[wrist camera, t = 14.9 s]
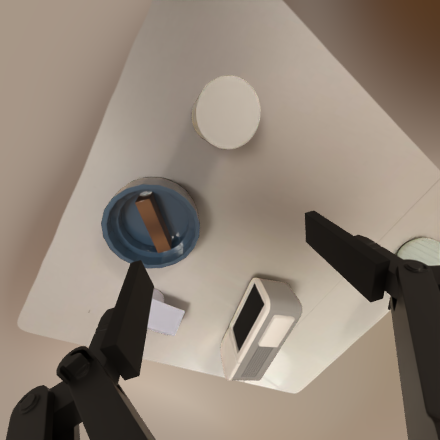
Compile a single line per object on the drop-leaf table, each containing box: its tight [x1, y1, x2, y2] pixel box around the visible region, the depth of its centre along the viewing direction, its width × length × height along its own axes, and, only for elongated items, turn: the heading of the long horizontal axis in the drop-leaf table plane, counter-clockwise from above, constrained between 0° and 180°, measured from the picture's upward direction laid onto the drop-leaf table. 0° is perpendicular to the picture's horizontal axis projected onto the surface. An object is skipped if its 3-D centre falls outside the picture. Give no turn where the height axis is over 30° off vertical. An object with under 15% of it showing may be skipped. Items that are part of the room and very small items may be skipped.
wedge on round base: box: [147, 288, 185, 336], centre depth 48 cm, size 9×7×13 cm
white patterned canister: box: [192, 75, 261, 149], centre depth 31 cm, size 8×8×12 cm
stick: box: [135, 192, 172, 253], centre depth 40 cm, size 11×3×4 cm, turn 14°
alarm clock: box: [220, 278, 302, 380], centre depth 53 cm, size 27×9×12 cm, turn 161°
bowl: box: [101, 177, 200, 268], centre depth 39 cm, size 17×17×6 cm
